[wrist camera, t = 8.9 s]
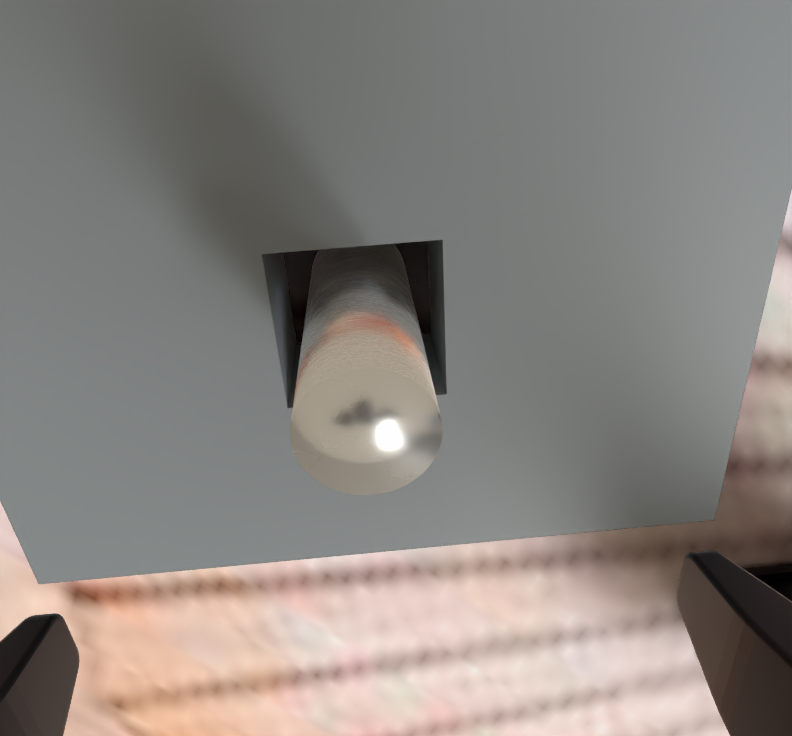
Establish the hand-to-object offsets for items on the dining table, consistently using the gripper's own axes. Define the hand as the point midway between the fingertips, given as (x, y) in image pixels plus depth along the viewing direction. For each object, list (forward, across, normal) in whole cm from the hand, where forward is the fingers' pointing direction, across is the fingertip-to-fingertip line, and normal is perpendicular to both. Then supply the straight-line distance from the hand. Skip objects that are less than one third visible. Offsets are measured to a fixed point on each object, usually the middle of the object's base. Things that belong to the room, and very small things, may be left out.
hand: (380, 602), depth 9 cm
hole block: (+13, 0, 0) cm, 13 cm away
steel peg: (+13, 0, 0) cm, 13 cm away
